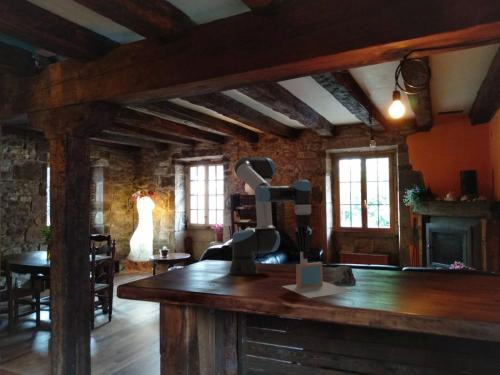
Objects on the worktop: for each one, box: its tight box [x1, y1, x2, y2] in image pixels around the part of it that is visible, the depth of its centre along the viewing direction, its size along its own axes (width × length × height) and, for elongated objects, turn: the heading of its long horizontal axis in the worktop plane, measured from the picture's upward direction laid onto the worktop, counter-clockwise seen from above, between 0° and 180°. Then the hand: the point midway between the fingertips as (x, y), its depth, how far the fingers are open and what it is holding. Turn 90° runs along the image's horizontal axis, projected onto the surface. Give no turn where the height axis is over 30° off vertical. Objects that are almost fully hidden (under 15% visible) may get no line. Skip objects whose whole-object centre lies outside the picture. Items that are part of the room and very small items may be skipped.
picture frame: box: [295, 261, 324, 289], centre depth 163 cm, size 3×12×10 cm, turn 115°
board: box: [281, 281, 354, 299], centre depth 159 cm, size 22×22×1 cm
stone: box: [333, 265, 357, 286], centre depth 171 cm, size 10×10×10 cm
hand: (304, 265), depth 167 cm, fingers closed
